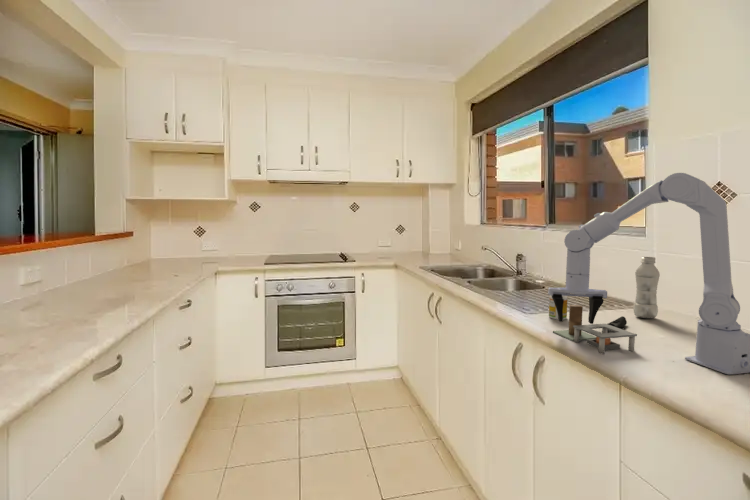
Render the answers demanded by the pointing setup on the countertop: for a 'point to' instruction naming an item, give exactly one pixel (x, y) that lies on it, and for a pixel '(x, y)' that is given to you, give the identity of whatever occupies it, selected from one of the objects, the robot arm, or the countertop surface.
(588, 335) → the coaster
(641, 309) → the plastic bottle
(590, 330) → the guard
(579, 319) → the dowel
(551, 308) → the supplement bottle
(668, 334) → the countertop surface
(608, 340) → the plunger
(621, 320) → the electric trimmer
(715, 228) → the robot arm
